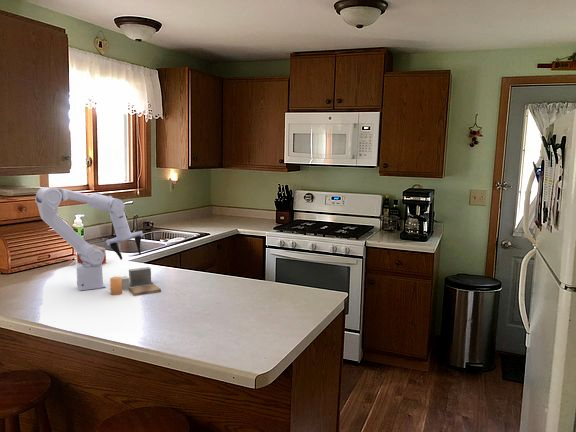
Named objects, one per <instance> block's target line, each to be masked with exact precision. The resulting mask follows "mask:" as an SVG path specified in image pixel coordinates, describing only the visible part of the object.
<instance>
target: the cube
mask: <svg viewBox="0 0 576 432" xmlns="http://www.w3.org/2000/svg"><path fill="white" fill-rule="evenodd" d="M120 277H121V279H122V291H129V287H130V286H129V276H126V275H125V276H120Z"/></svg>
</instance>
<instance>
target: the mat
mask: <svg viewBox="0 0 576 432" xmlns="http://www.w3.org/2000/svg"><path fill="white" fill-rule="evenodd" d="M128 291H129V292H130V293H131V295H133V296H134V297H136V296H140V295H141V296H142V295H149V294H156V293H161V292H162V290H161V288H160V287H159V286H157V284H155V283H153V284H148V285H141V286H134V287H130V286H129V290H128Z"/></svg>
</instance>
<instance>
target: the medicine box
mask: <svg viewBox="0 0 576 432" xmlns="http://www.w3.org/2000/svg"><path fill="white" fill-rule="evenodd" d="M90 245H91V246H93V247H94V248H95V249H98V250H100V251H102V252H103V254H104V260H103V262H102V265H104V264H103V263H106V264H107V255H106V254H107V253H106V248H105V247H101V246H97V245H94V244H90ZM76 262H77V263H80V264H82V263H83V261H82V260H81V259H80V256H79V254H78V253H77V252H76Z"/></svg>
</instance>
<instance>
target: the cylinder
mask: <svg viewBox="0 0 576 432" xmlns="http://www.w3.org/2000/svg"><path fill="white" fill-rule="evenodd" d="M121 277H122V276H113V277H110V278H109V283H110V285H109V286H110V295H111V296H119V295H122V294H123V290H122V279H121Z"/></svg>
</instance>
